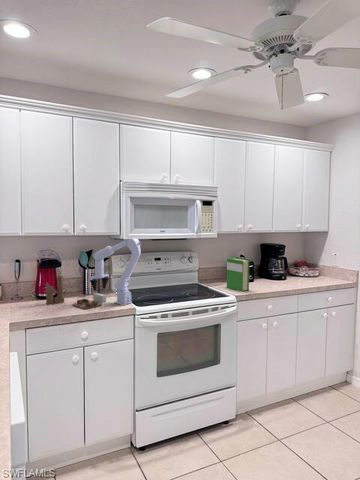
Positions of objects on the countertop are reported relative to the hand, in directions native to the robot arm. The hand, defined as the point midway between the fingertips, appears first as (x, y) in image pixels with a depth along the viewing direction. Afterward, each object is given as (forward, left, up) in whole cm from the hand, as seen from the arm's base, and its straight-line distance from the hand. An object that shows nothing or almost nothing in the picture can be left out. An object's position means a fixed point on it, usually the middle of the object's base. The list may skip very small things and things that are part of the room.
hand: (99, 289), depth 233 cm
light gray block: (0, 0, -9) cm, 9 cm away
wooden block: (+18, +22, -9) cm, 30 cm away
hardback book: (-49, -97, -9) cm, 109 cm away
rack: (-3, +12, -8) cm, 15 cm away
